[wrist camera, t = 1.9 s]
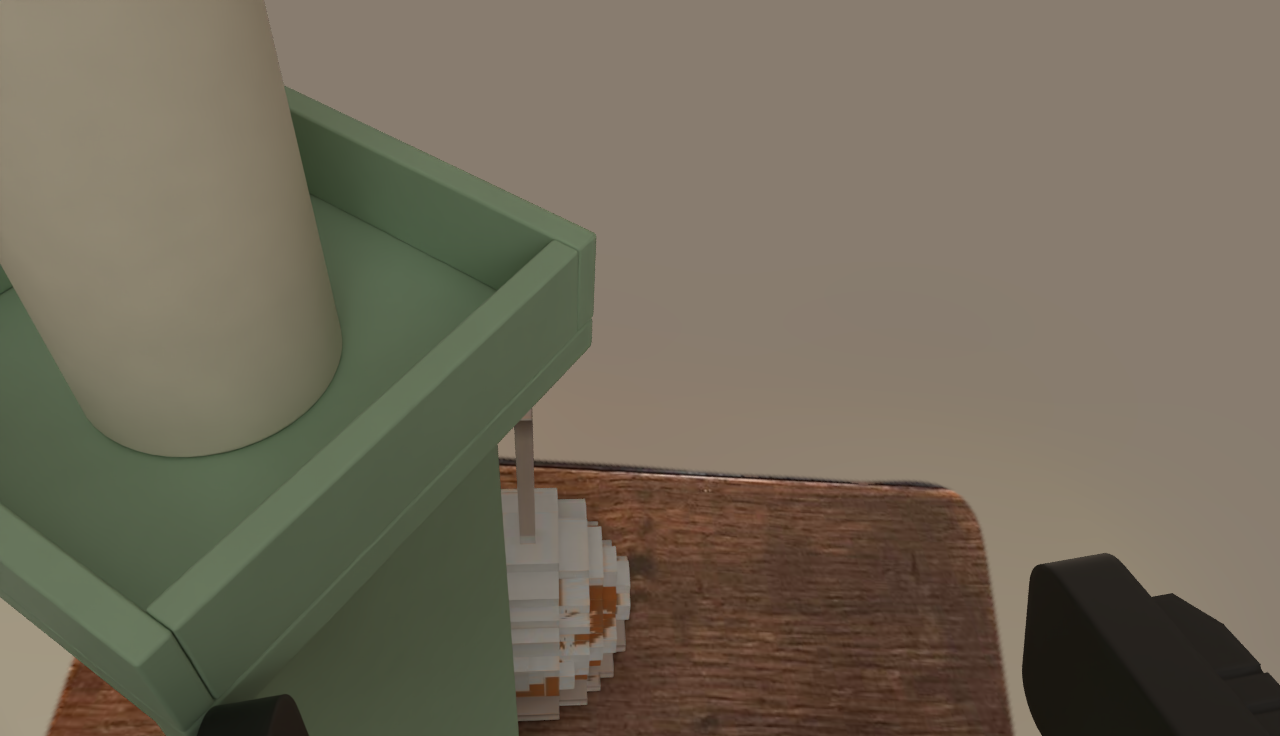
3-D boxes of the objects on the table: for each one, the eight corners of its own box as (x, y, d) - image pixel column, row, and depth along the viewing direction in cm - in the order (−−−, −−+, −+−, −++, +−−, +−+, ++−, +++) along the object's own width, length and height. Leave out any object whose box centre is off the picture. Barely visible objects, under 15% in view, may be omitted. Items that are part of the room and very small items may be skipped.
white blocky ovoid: (628, 722, 40) (656, 515, 29) (432, 730, 39) (383, 522, 28) (617, 553, 45) (638, 323, 34) (444, 558, 44) (407, 324, 33)
